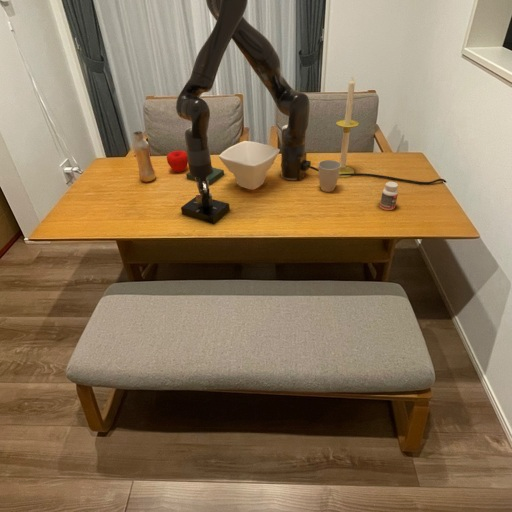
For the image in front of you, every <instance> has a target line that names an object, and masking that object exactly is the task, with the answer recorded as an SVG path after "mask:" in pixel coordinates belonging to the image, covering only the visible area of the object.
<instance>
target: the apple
mask: <svg viewBox="0 0 512 512" xmlns="http://www.w3.org/2000/svg"><path fill="white" fill-rule="evenodd" d="M166 162H167V164H168V165H169V167H170V169H171V170H172V171H174V172H177V173H179V172H184V171H185V170H186V169H187V167H188V159H187V151H184V150H174V151H171V152H169V153H167V155H166Z"/></svg>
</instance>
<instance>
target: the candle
mask: <svg viewBox="0 0 512 512" xmlns="http://www.w3.org/2000/svg"><path fill="white" fill-rule="evenodd" d="M355 85H356V82H355V79H354V75H352V76H351V79H350V80H349V82H348V88H347V96H346V97H347V98H346V106H345V114H344V115H345V116H344V118H343V119H339V120H337V121H336V122H335V123H336V126H338V127H340V128H343V130H342V139H341V150H340V160H339V163H340V164H341V166H340V172H339V174H351V173H355V170H354V169H353V168H352V167H350V166H347V161H348V151H349V143H350V142H349V141H350V135H351V134H350V132H351V129H353V128H356V127H358V126H359V124H360V123H359V121H357V120H355V119H352V112H353V101H354V94H355ZM352 176H353V175H346V176H339V177H338V178H349V177H352Z"/></svg>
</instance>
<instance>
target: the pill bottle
mask: <svg viewBox="0 0 512 512" xmlns="http://www.w3.org/2000/svg"><path fill="white" fill-rule="evenodd" d="M398 186H399V185H398V183H397V182H395V181H387V182H386V183H385V185H384V188H383V189H382V192H381V196H380V197H381V198H380V201H379V207H380V209H382V210H385V211H392V210H394V209H395V208H396V204H397V200H398V195H399V190H398Z"/></svg>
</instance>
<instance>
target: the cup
mask: <svg viewBox="0 0 512 512" xmlns="http://www.w3.org/2000/svg"><path fill="white" fill-rule="evenodd" d="M340 166H341V164H340V161H337V160H332V159H325V160H321V161H319V162H318V169H319V172H318V171H317V172H318V174H317V175H318V183H319V187H320V190H321V191H323V192H326V193H328V192H329V193H330V192H333V191H334V190H335V188H336V187H337V184H338V180H339V178H340V177H339V172H340Z"/></svg>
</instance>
